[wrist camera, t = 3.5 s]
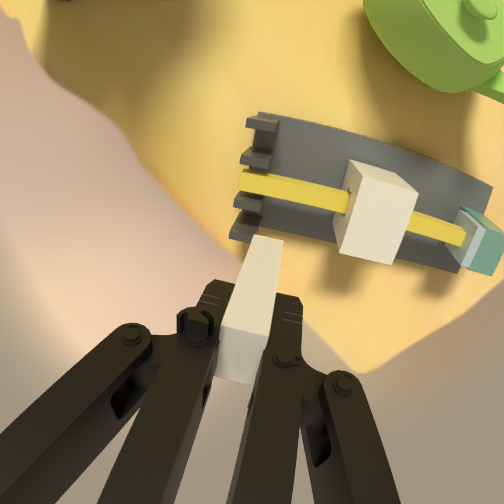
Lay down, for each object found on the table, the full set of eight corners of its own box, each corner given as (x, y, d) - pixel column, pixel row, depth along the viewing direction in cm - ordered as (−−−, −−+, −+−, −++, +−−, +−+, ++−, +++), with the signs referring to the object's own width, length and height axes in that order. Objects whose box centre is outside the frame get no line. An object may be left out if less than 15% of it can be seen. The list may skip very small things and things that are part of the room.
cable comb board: (240, 218, 33) (225, 248, 27) (257, 111, 27) (244, 113, 21) (454, 269, 31) (476, 303, 25) (488, 184, 25) (522, 206, 19)
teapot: (505, 80, 19) (577, 87, 8) (440, 136, 25) (508, 163, 14) (392, -55, 14) (427, -107, 3) (311, -7, 20) (316, -66, 9)
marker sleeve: (332, 221, 30) (339, 253, 24) (349, 159, 26) (362, 176, 21) (375, 232, 30) (391, 265, 24) (395, 172, 26) (418, 193, 20)
